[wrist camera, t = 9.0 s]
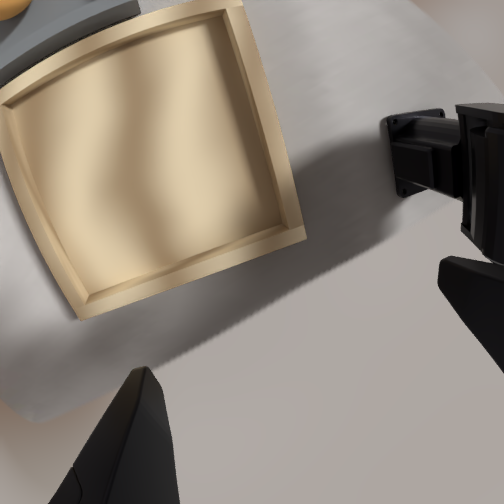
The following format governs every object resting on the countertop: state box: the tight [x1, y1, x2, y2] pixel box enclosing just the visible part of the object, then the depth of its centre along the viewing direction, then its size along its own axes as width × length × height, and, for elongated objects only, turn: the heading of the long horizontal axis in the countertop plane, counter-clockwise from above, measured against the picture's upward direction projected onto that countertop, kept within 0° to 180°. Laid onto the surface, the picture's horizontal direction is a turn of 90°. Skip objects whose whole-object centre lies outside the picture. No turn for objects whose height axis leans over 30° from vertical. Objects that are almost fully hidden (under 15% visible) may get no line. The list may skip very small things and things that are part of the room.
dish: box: [0, 0, 307, 321], centre depth 16 cm, size 16×16×2 cm
